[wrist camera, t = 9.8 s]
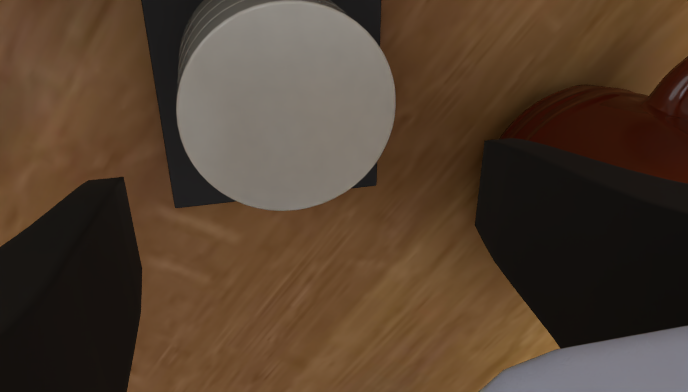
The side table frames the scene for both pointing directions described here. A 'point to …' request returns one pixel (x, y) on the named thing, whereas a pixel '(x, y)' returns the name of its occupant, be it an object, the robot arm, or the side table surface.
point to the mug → (616, 125)
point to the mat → (164, 42)
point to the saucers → (282, 100)
